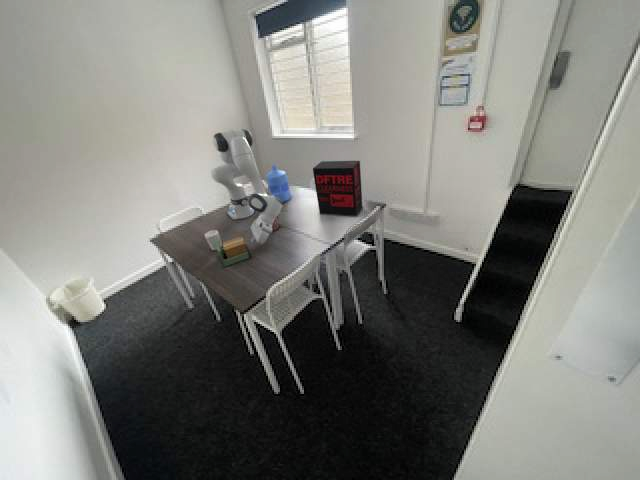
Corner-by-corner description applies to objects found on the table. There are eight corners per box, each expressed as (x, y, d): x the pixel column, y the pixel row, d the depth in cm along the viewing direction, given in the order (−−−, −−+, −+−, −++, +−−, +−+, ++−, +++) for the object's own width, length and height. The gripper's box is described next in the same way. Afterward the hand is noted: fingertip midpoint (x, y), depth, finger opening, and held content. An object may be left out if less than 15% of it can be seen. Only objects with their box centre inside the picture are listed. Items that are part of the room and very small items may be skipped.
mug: (274, 232, 167) (269, 214, 159) (263, 230, 171) (258, 212, 164) (286, 223, 175) (281, 205, 168) (275, 221, 180) (271, 203, 173)
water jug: (271, 197, 218) (263, 164, 203) (289, 193, 220) (282, 160, 205) (273, 204, 205) (264, 169, 190) (292, 200, 207) (285, 165, 192)
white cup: (212, 244, 164) (206, 231, 159) (224, 242, 164) (219, 229, 159) (209, 251, 158) (202, 238, 152) (221, 249, 158) (216, 235, 152)
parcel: (245, 248, 155) (241, 236, 151) (248, 255, 148) (244, 243, 143) (227, 254, 152) (222, 242, 147) (229, 262, 145) (224, 249, 140)
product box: (319, 213, 180) (312, 168, 164) (327, 204, 191) (321, 161, 174) (356, 216, 170) (353, 168, 153) (362, 206, 181) (359, 160, 164)
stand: (245, 246, 158) (240, 231, 152) (249, 257, 146) (244, 243, 141) (221, 254, 154) (215, 239, 148) (224, 266, 142) (217, 251, 137)
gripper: (255, 213, 155) (243, 232, 157) (263, 227, 138) (250, 248, 141) (264, 218, 158) (253, 236, 161) (273, 232, 142) (260, 252, 144)
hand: (251, 242), depth 151 cm, fingers closed
